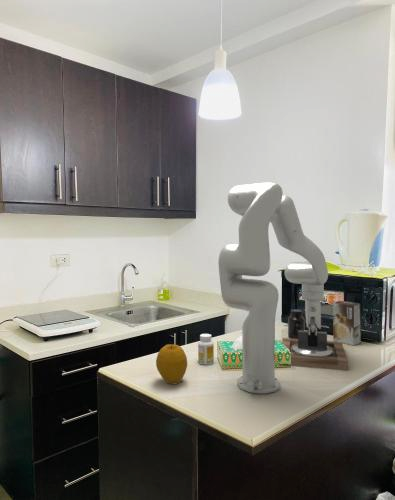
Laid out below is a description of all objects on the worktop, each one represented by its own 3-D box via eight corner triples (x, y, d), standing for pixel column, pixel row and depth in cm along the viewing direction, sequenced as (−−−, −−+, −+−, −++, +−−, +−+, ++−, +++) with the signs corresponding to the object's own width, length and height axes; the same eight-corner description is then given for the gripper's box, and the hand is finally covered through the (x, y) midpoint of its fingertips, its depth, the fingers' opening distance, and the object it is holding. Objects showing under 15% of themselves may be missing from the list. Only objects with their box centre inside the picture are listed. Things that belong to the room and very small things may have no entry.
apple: (149, 381, 118) (149, 344, 117) (175, 373, 124) (174, 337, 123) (168, 391, 111) (167, 351, 110) (194, 382, 117) (193, 344, 116)
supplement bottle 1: (214, 359, 136) (213, 333, 136) (213, 365, 131) (213, 337, 130) (199, 359, 137) (198, 332, 136) (197, 364, 132) (197, 337, 131)
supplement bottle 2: (284, 336, 164) (285, 309, 163) (298, 335, 166) (299, 308, 165) (293, 341, 157) (293, 312, 157) (307, 339, 159) (308, 311, 159)
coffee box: (361, 342, 155) (361, 303, 154) (353, 346, 151) (354, 305, 150) (339, 337, 162) (340, 300, 161) (332, 341, 157) (332, 302, 156)
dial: (334, 360, 130) (334, 338, 130) (291, 357, 134) (291, 336, 133) (331, 347, 144) (331, 328, 143) (292, 345, 147) (292, 325, 147)
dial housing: (347, 370, 125) (347, 360, 125) (279, 364, 131) (279, 355, 131) (341, 349, 146) (341, 341, 146) (282, 345, 152) (282, 337, 152)
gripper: (324, 300, 128) (324, 350, 129) (322, 291, 145) (322, 336, 146) (301, 299, 130) (301, 348, 131) (301, 291, 147) (301, 334, 148)
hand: (312, 342), depth 138 cm, fingers open, 9 cm apart
